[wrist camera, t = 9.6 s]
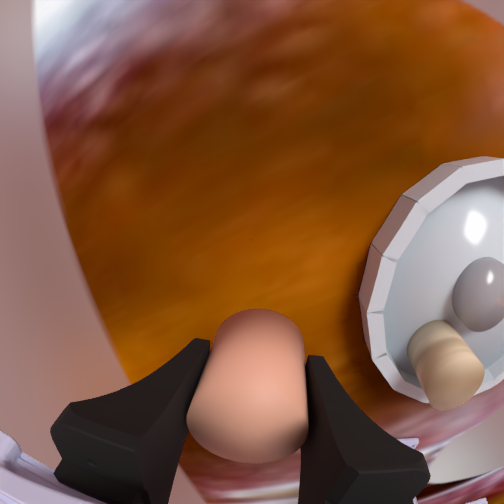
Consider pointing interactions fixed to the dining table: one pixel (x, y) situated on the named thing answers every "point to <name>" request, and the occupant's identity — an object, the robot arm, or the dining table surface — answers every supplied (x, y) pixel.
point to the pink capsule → (252, 390)
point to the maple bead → (444, 365)
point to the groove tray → (439, 270)
